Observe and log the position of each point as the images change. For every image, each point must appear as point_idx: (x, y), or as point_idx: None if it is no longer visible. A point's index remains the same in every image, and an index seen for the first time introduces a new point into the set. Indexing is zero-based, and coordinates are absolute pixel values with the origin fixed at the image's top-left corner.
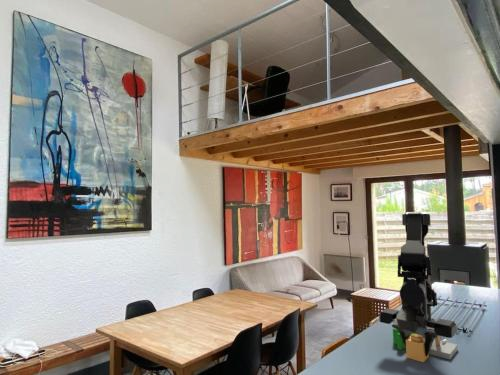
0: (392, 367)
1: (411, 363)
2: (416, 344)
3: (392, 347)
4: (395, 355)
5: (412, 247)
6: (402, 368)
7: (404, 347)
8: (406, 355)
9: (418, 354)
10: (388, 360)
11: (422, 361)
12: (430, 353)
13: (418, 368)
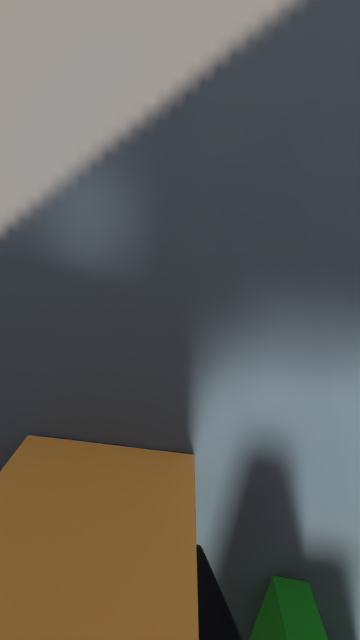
0: (281, 118)
1: (119, 351)
2: (3, 629)
3: (356, 589)
4: (302, 445)
5: None
6: (170, 166)
7: (254, 630)
8: (193, 467)
9: (47, 489)
10: (354, 288)
11: (36, 440)
12: None
13: (25, 273)
